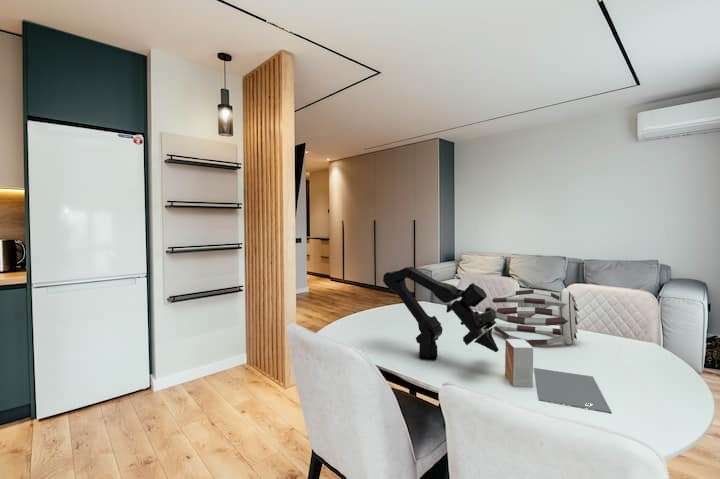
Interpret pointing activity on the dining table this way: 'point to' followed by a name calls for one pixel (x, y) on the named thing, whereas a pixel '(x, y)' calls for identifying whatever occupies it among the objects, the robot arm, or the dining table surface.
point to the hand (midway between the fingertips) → (497, 351)
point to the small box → (519, 362)
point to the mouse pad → (569, 389)
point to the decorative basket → (564, 318)
